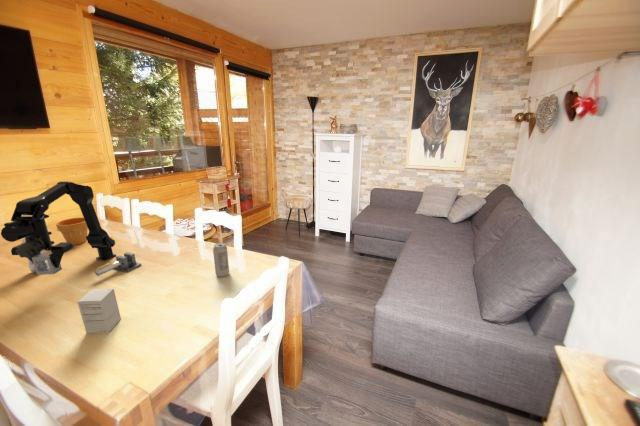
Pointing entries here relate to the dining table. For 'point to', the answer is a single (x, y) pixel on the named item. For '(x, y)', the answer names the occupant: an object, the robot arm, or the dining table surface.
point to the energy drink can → (221, 259)
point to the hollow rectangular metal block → (44, 264)
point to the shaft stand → (119, 264)
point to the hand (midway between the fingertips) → (48, 267)
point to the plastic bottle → (31, 265)
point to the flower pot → (73, 230)
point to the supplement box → (99, 310)
